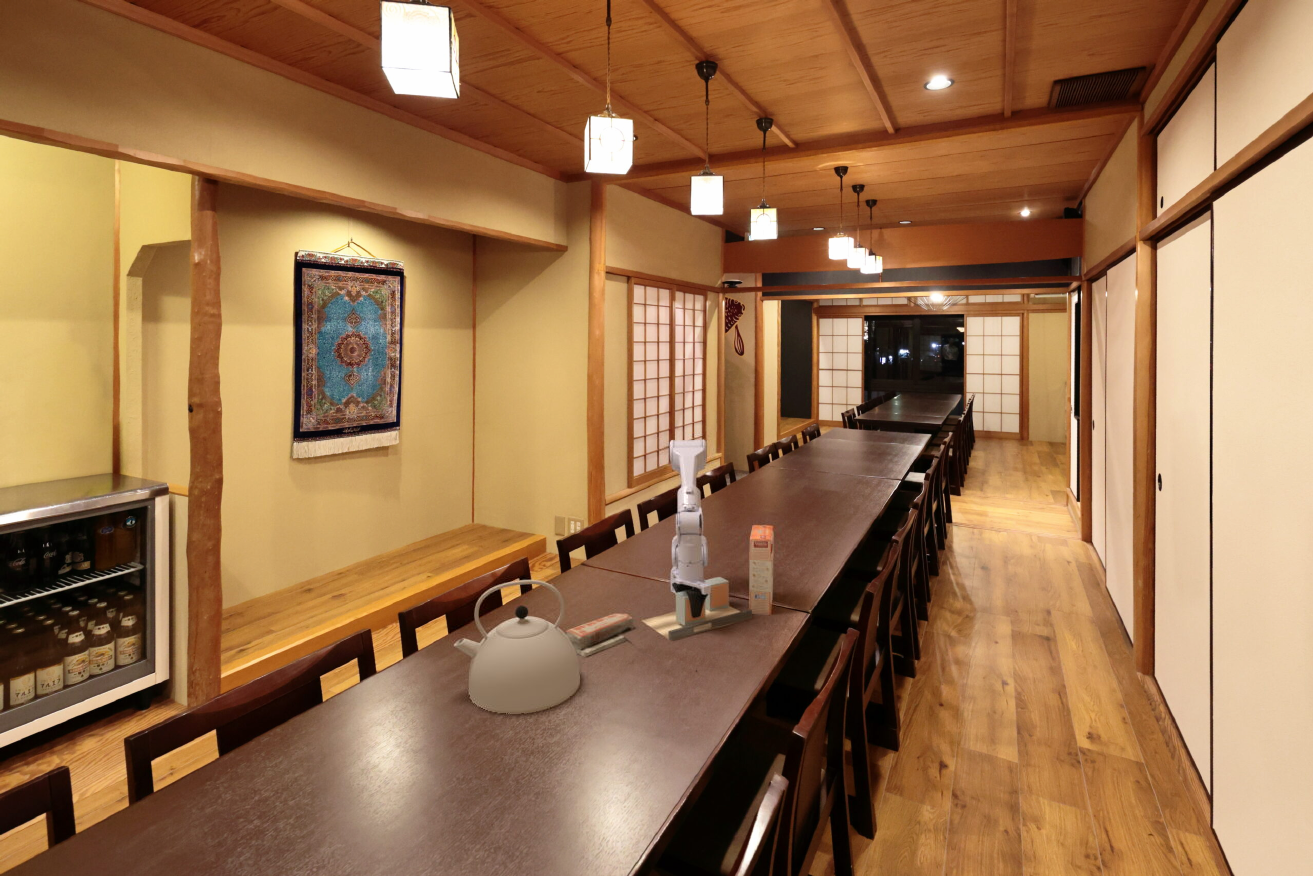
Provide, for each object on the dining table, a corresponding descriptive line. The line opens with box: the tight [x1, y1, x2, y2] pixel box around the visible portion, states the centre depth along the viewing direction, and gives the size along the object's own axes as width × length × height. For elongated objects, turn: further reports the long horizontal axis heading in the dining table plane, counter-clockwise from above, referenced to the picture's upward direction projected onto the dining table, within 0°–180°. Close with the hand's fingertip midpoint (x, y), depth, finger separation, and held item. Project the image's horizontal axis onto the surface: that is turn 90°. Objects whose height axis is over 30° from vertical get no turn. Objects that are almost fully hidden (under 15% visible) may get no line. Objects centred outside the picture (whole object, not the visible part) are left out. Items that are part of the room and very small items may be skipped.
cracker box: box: [748, 524, 775, 616], centre depth 176 cm, size 14×6×21 cm, turn 168°
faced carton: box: [705, 576, 730, 612], centre depth 175 cm, size 4×6×7 cm
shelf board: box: [641, 605, 753, 641], centre depth 168 cm, size 14×24×3 cm, turn 121°
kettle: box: [453, 579, 581, 715], centre depth 138 cm, size 25×23×22 cm
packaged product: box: [565, 612, 643, 658], centre depth 160 cm, size 18×5×10 cm
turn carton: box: [675, 590, 705, 626], centre depth 164 cm, size 4×6×7 cm
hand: (690, 613), depth 165 cm, fingers closed on turn carton, 4 cm apart
